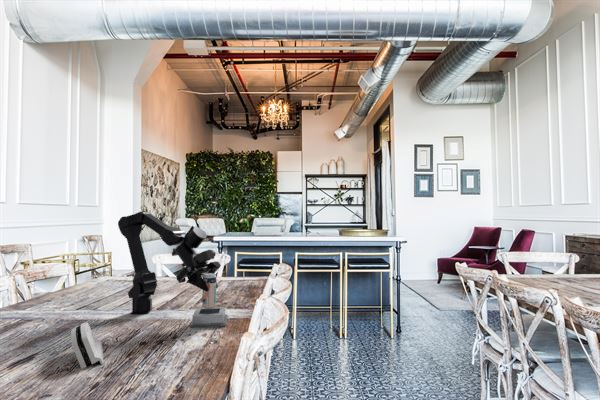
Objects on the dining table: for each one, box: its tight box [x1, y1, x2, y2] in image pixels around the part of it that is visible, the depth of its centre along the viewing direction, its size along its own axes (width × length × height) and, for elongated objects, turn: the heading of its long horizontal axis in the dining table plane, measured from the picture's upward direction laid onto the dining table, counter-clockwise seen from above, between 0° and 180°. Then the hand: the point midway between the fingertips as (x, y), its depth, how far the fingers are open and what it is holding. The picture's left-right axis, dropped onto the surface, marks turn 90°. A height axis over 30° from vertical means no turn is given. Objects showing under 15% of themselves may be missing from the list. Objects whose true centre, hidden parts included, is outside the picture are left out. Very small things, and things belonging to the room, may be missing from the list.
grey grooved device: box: [70, 322, 104, 369], centre depth 104 cm, size 17×5×10 cm, turn 28°
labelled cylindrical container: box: [201, 273, 217, 309], centre depth 136 cm, size 5×5×12 cm
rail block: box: [189, 306, 228, 329], centre depth 136 cm, size 12×12×4 cm
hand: (212, 289), depth 136 cm, fingers closed on labelled cylindrical container, 5 cm apart
